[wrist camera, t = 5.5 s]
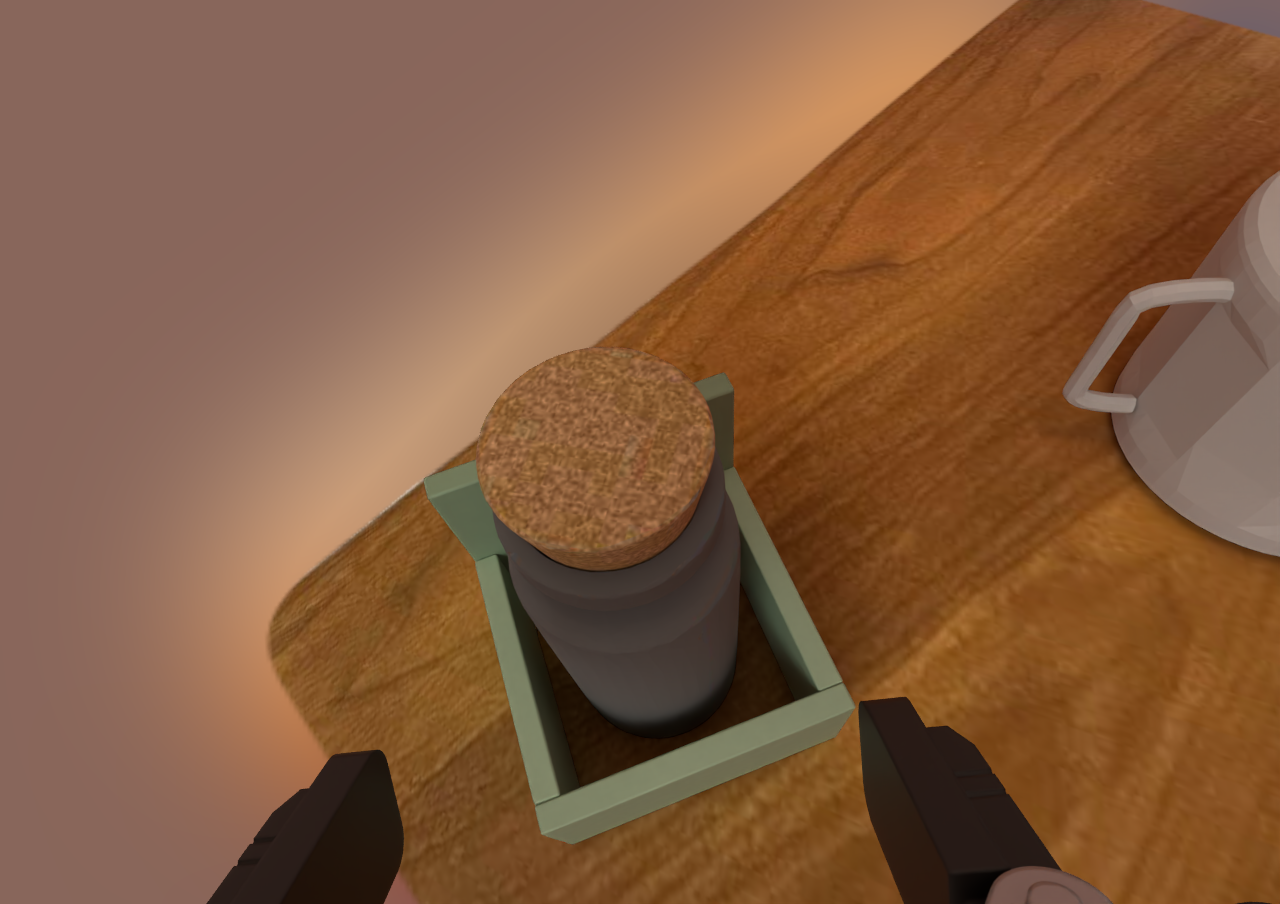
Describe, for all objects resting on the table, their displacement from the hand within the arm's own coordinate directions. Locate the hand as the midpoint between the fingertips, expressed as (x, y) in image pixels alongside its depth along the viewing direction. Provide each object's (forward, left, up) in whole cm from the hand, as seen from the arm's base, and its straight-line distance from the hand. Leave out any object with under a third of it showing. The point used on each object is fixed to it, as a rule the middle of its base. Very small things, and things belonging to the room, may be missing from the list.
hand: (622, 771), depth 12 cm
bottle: (+1, +6, -14) cm, 15 cm away
